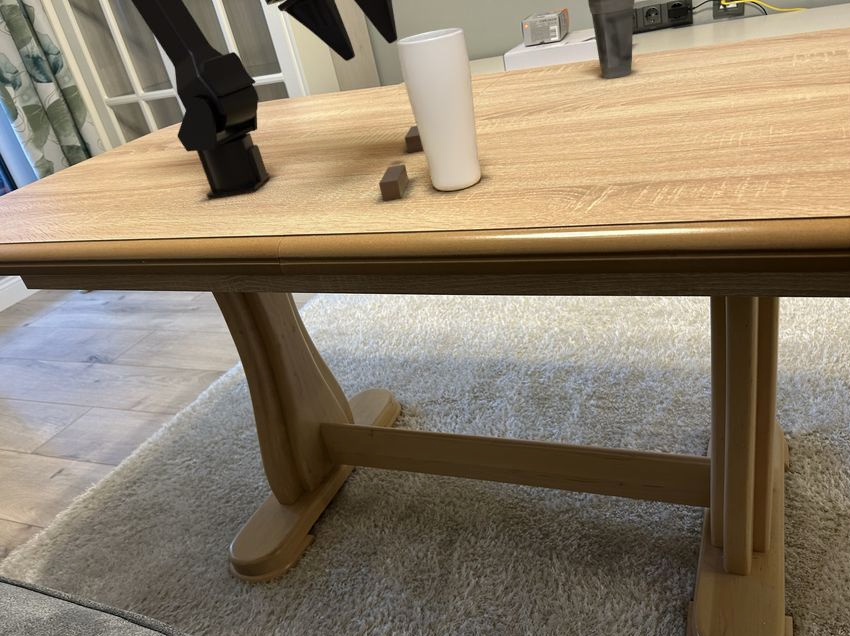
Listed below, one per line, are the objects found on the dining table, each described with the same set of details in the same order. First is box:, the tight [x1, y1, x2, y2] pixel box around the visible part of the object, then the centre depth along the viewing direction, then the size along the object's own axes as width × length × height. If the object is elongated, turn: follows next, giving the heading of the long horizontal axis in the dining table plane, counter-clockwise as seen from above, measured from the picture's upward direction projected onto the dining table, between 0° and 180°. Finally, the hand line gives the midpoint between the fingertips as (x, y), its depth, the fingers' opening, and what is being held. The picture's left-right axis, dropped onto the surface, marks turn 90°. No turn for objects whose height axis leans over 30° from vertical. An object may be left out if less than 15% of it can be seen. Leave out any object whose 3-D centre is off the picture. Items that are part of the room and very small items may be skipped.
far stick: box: [404, 125, 424, 154], centre depth 94 cm, size 6×2×2 cm, turn 176°
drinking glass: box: [396, 27, 482, 192], centre depth 72 cm, size 7×7×15 cm
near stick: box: [378, 163, 410, 201], centre depth 78 cm, size 6×2×2 cm, turn 176°
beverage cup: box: [587, 0, 635, 79], centre depth 107 cm, size 7×7×20 cm
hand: (373, 50), depth 74 cm, fingers open, 9 cm apart
